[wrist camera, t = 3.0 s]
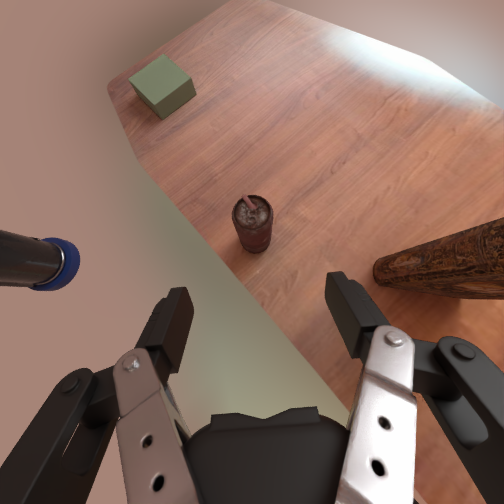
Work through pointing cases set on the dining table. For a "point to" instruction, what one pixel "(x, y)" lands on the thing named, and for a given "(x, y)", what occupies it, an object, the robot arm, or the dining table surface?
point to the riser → (163, 86)
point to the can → (253, 222)
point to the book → (450, 265)
